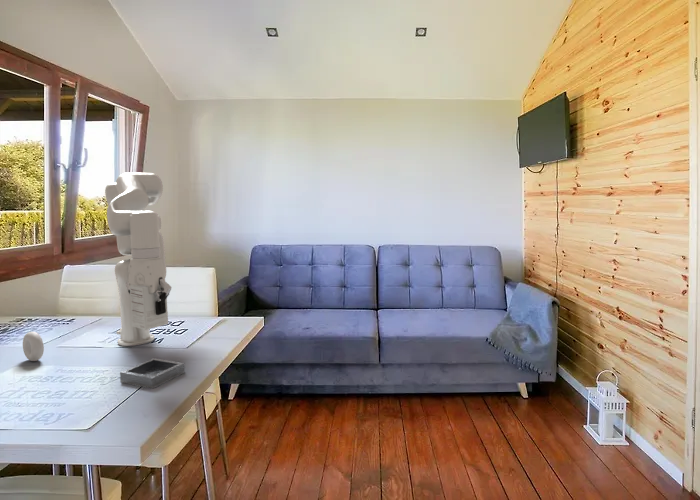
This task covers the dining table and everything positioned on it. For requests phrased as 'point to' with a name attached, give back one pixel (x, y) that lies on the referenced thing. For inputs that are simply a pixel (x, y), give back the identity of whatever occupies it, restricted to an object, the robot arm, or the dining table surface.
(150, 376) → the locating frame
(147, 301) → the supplement box
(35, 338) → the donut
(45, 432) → the dining table surface
